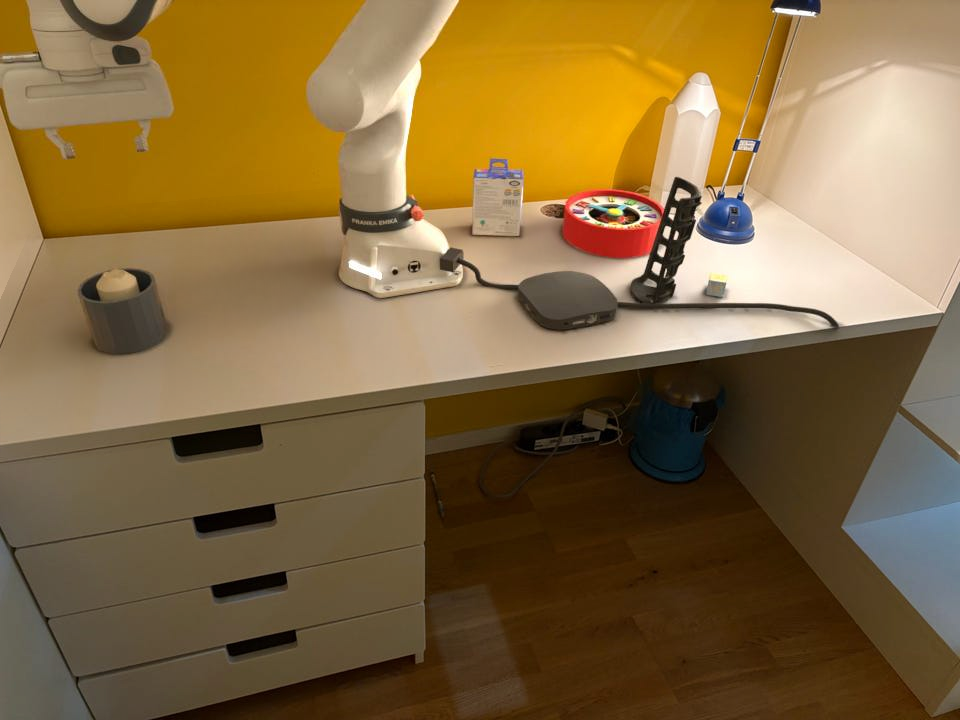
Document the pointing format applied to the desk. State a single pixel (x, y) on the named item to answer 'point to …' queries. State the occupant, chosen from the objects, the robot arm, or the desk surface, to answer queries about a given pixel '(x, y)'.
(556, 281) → the media streaming box
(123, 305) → the pen holder
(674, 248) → the holder
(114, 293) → the candle
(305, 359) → the desk surface
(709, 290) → the alphabet block
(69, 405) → the desk surface
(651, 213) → the toy clock
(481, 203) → the ink cartridge box
